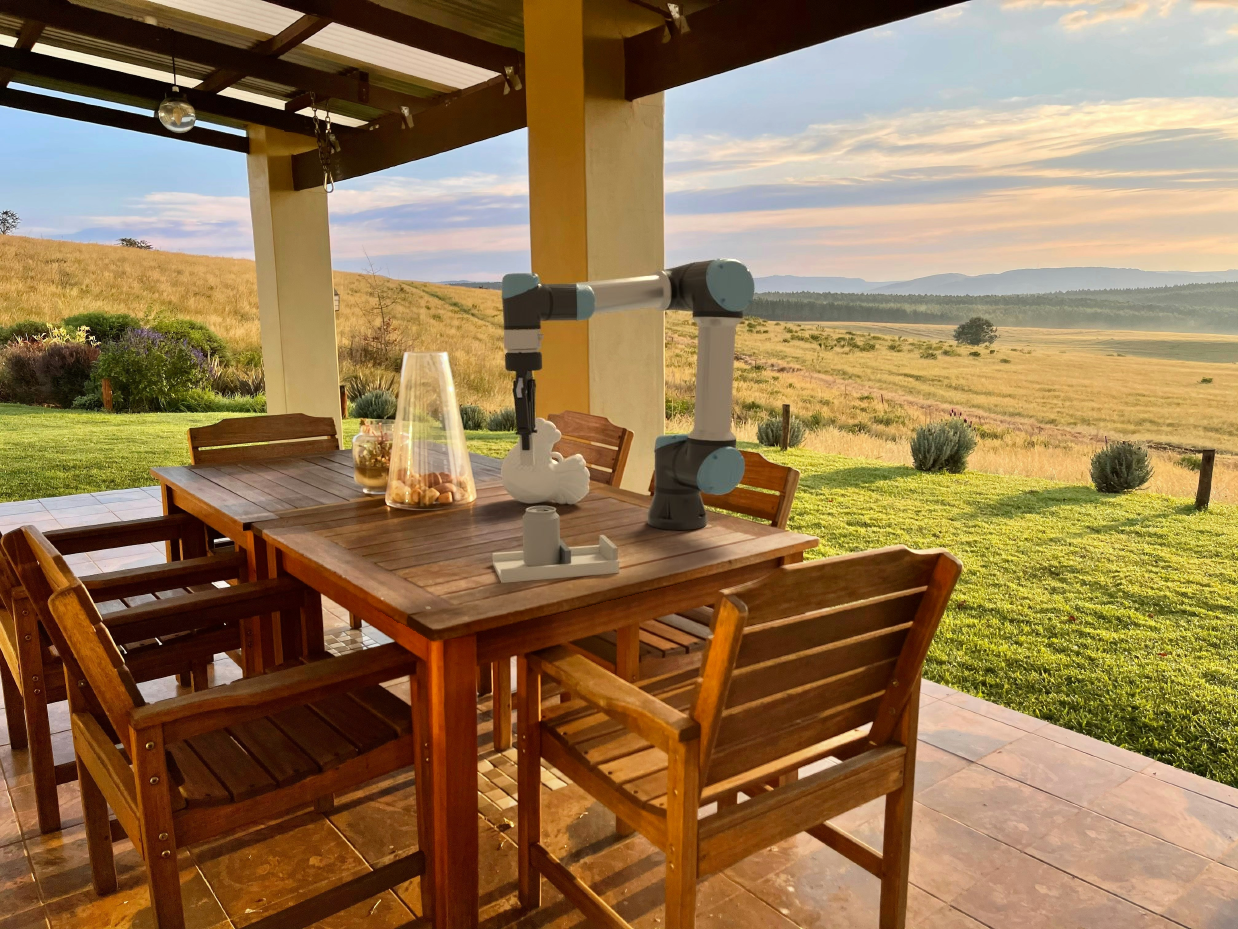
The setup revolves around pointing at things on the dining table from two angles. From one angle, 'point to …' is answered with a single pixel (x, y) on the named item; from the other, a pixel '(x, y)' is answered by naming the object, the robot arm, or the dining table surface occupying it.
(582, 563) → the tray
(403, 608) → the dining table surface
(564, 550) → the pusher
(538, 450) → the decorative rooster
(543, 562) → the can
